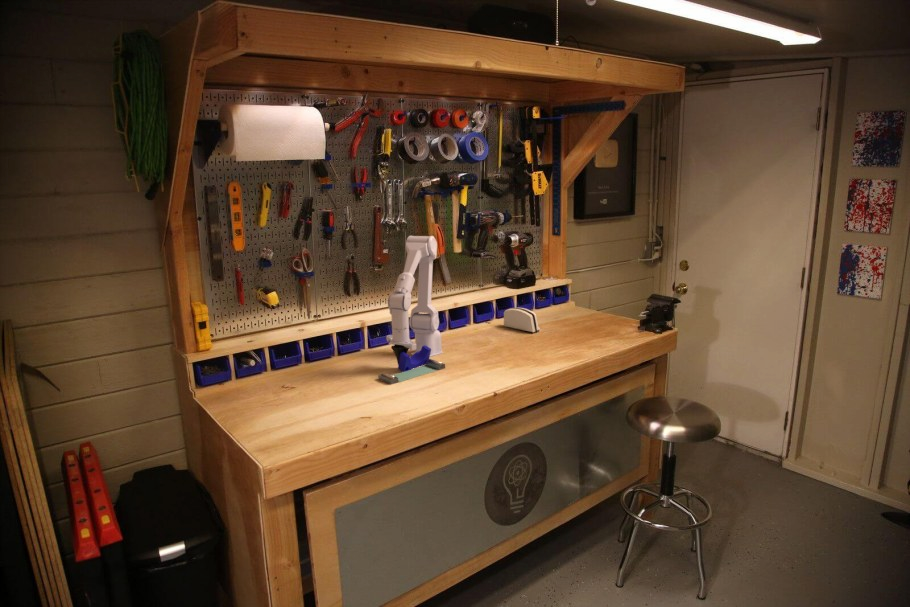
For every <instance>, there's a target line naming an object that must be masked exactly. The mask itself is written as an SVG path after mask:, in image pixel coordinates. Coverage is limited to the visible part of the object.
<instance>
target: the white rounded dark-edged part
mask: <svg viewBox="0 0 910 607" xmlns="http://www.w3.org/2000/svg"><path fill="white" fill-rule="evenodd" d="M503 326H504V327H507V328H511V329H516V330H521V331H527V332H529V333H530V332H532V333H535V332H537V333H540V332H541V328H540V327H539V324H538V319H537V314H536V313H535V312H534V311H532V310H530V309H528V308H524V307H510V308H508V309H506V310H504V312H503Z"/></svg>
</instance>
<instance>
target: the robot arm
mask: <svg viewBox="0 0 910 607" xmlns="http://www.w3.org/2000/svg"><path fill="white" fill-rule="evenodd" d="M405 250H406V254H407V255H406V259H405V264H404V269H403V271H402V273H400V274H399V275H398V277H397V280H396V284H395V286H394V289H393V292H392V293H390V294H389V296H388V298H387V306H388V309H389V314H390V315H391V332H392V333H391V334H388V335H385V336H386V342H387V343H388V342H389V343H390V344H391V345H392V346H391V347H390V348H391V350H392V352H393V353H394V356H395V358H396V361H397V366H398V365H399V359H400V354H401V353H402V352H405V353H406V354H407V353H408V352H409V351H414V352H410V354H411V355H412V356H413V355H414V354H415V353H416V352H418V351H421V349H422V346H424V345H426V346H427V347H429V348H431V352H430V357H429V358H431V357H435V356H439V355H441V354H444V351H443V350H442V349H443V348H442V335H441V332H440V330H438V329H439V325H440V318H439V310H437V309H436V307H434V306H433V305H432V293H433V292H432V291H433V288H432V287H433V268H434V267H433V266H434V263H433V262H434V260H435V259H437V253H438V252H437V251H438V242H437V239H436V238H435V237H434V235H430V236H428V235H420V236H419V235H409V236H407V238H406V240H405ZM417 267H418V281H417V282H418V285H417V286H418V287H417V305H416V306H414V307H413V308H412V309H411V311H410V316H409V309H410V308H411V305H412V294H411V293H412V290H413V288H414V286H415V285H414V284H415V282H416V279H415V276H414V275H415V272H416V270H417ZM410 329H411V330H412V332H413V333H414V340H415V342H414V341H412V340H411V338H410Z"/></svg>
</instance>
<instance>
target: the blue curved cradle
mask: <svg viewBox="0 0 910 607" xmlns="http://www.w3.org/2000/svg"><path fill="white" fill-rule="evenodd" d="M415 352H416V351H415ZM430 352H431V348H429V347H427V346H426V345H424V346H422V349H421V351H418V352H416V353H415V354H414V355H412V356H410V355H409V354H406V353H405V352H402V353H401V354H400V359H399V365H398V364H397V369H398V370H399V371H401V372H405V371H409V370H412V369H413V368H414V369H415V368H419V366H420V367H422V366H426V363H425V362H426V361H428V360H429V359H430V358H431V357H430Z"/></svg>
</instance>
